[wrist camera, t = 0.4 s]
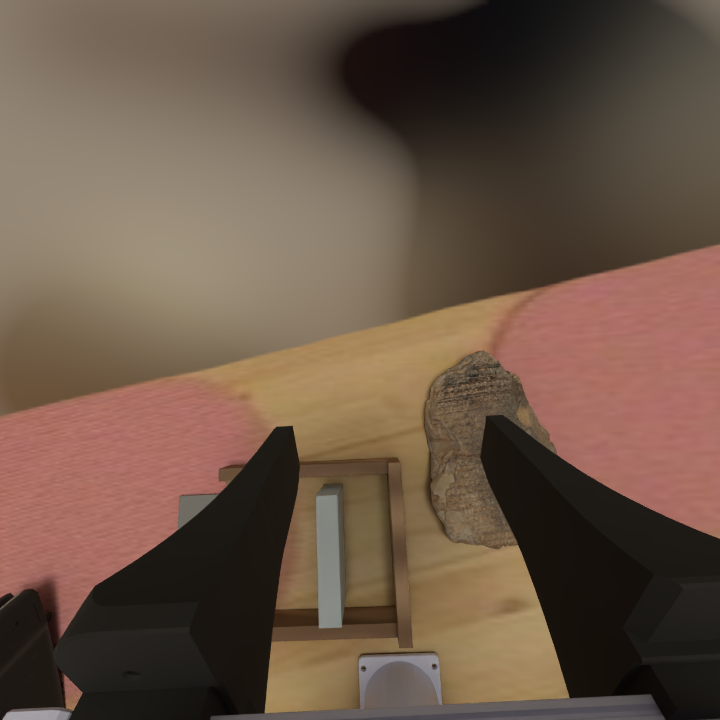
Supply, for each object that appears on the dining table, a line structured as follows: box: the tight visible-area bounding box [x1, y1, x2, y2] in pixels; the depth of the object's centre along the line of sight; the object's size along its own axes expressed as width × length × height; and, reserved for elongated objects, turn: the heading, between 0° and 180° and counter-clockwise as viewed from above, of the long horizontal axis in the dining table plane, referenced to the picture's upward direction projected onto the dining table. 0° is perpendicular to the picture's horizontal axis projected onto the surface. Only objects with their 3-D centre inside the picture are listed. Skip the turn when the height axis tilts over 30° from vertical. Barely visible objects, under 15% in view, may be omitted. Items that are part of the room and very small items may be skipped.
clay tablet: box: [425, 351, 557, 549], centre depth 35 cm, size 14×5×20 cm
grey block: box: [316, 484, 346, 628], centre depth 33 cm, size 11×2×6 cm, turn 3°
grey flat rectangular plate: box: [178, 494, 219, 530], centre depth 36 cm, size 12×5×1 cm, turn 3°
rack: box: [219, 458, 413, 648], centre depth 34 cm, size 16×19×4 cm
